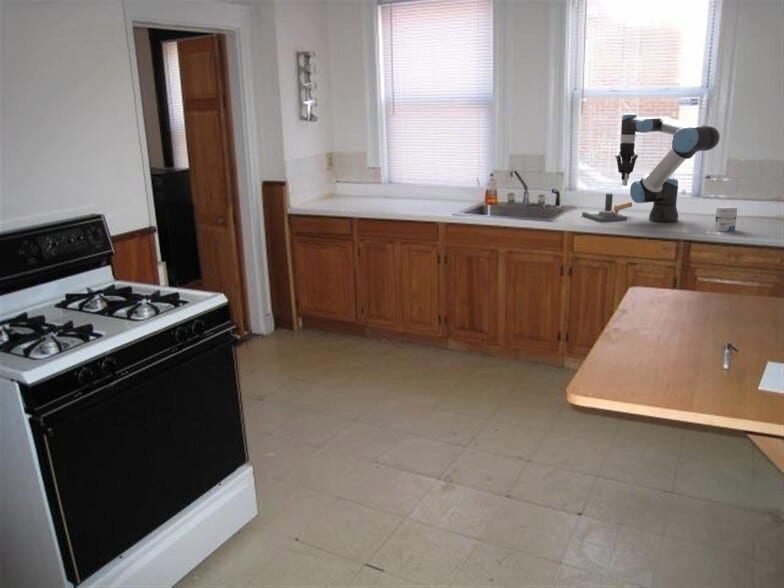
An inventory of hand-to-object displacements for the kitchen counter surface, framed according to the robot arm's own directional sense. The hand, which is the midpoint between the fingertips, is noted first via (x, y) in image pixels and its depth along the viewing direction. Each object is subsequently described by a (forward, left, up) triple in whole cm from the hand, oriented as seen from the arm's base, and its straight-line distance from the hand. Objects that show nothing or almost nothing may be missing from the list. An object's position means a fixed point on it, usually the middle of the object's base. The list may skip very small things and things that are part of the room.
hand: (624, 185), depth 396 cm
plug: (-5, +12, -16) cm, 20 cm away
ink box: (-51, -27, -18) cm, 60 cm away
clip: (-5, +3, -12) cm, 13 cm away
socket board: (-1, +12, -18) cm, 21 cm away
